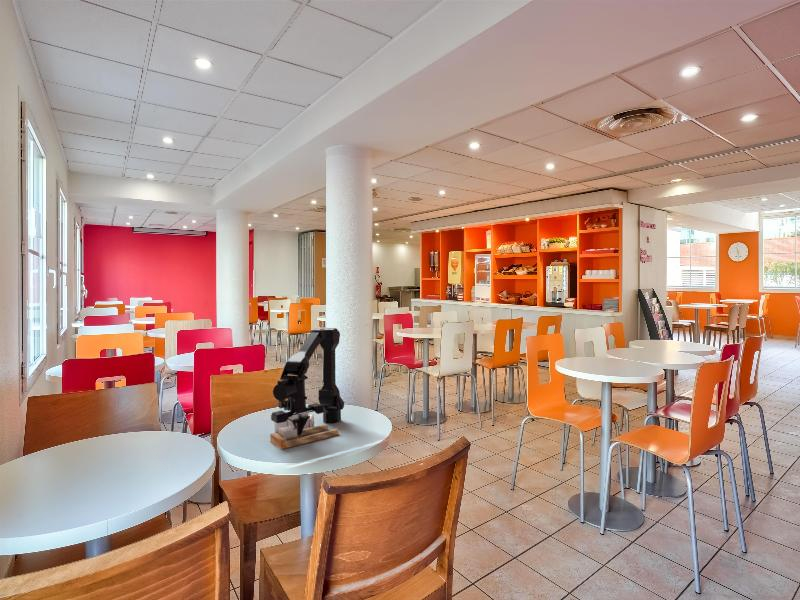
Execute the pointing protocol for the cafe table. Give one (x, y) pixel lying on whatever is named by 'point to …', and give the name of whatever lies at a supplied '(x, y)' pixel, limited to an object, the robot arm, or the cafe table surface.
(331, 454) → the cafe table surface
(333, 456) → the cafe table surface
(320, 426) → the brown shallow tray
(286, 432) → the grey pink cube
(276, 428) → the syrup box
